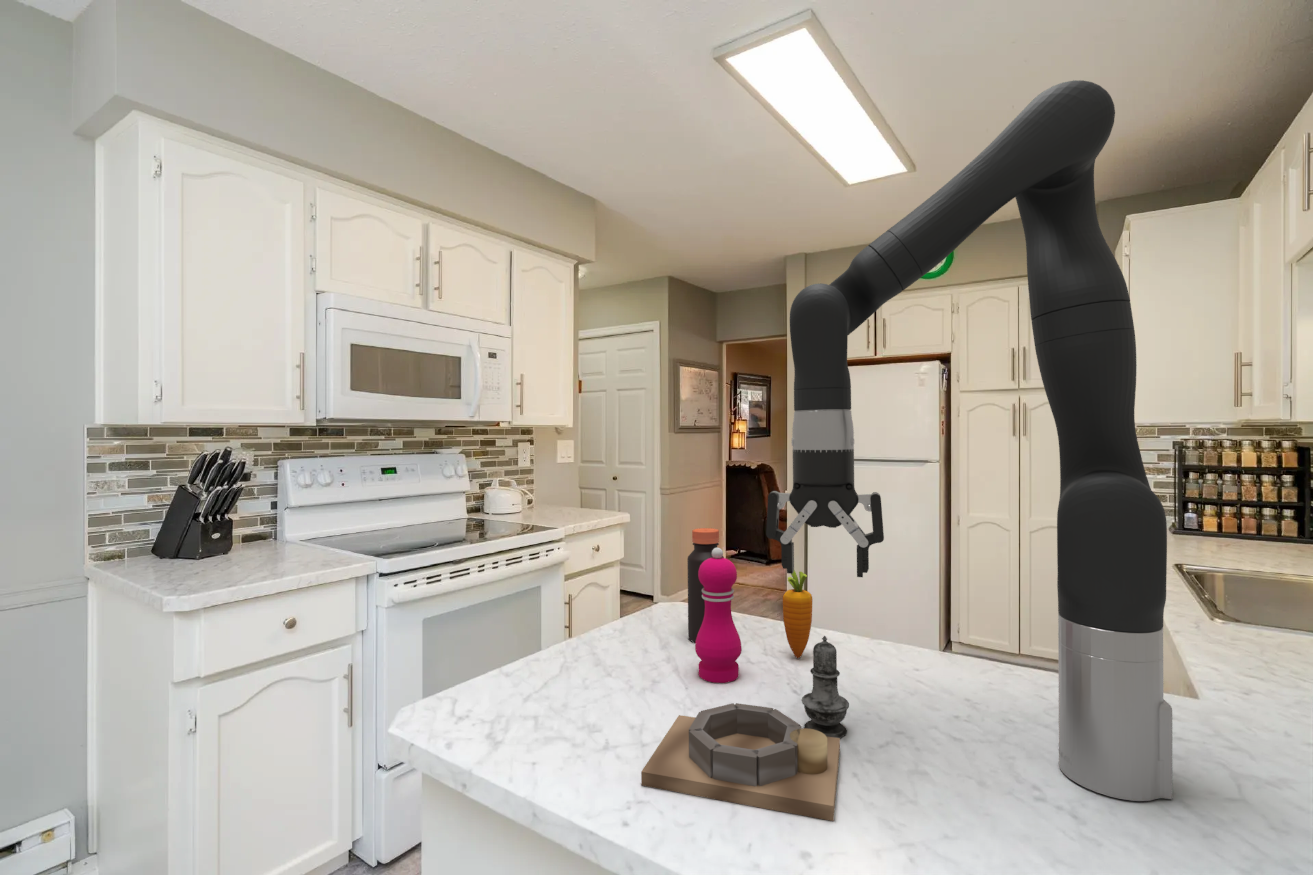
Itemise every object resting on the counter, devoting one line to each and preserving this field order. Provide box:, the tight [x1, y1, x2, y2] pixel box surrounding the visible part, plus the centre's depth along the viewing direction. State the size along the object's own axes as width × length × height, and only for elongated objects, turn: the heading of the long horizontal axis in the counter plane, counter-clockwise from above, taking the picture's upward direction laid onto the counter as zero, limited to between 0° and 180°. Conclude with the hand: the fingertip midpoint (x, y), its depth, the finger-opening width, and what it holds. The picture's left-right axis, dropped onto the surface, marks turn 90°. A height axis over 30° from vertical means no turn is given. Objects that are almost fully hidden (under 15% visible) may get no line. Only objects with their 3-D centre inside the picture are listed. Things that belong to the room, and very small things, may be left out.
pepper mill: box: [694, 547, 743, 684], centre depth 97 cm, size 7×7×20 cm
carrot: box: [782, 569, 813, 660], centre depth 104 cm, size 5×5×15 cm
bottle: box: [687, 527, 725, 643], centre depth 114 cm, size 7×7×20 cm
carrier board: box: [640, 702, 841, 822], centre depth 70 cm, size 20×14×4 cm
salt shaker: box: [801, 635, 850, 739], centre depth 79 cm, size 6×6×12 cm
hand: (824, 574), depth 79 cm, fingers open, 8 cm apart
